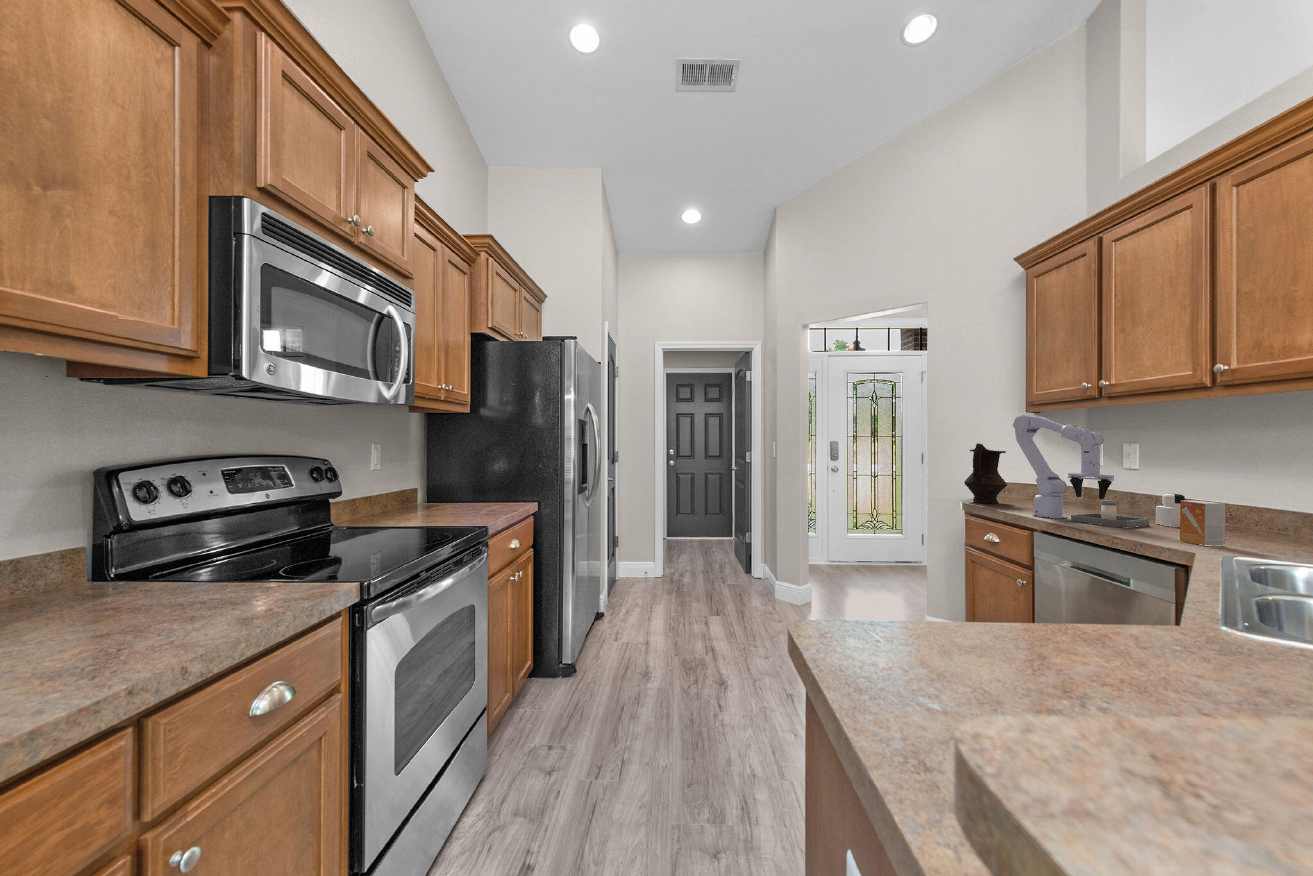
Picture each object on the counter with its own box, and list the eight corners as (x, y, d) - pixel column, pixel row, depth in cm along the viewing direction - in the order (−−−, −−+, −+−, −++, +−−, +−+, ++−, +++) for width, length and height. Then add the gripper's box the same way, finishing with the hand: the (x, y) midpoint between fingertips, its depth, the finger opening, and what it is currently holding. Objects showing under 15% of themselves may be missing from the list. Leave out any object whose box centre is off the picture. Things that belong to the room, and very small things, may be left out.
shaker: (1098, 521, 209) (1098, 500, 209) (1105, 520, 211) (1105, 499, 211) (1111, 522, 205) (1112, 501, 205) (1119, 522, 207) (1119, 501, 207)
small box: (1179, 541, 172) (1179, 500, 172) (1199, 541, 172) (1199, 500, 172) (1204, 546, 164) (1205, 503, 164) (1226, 546, 164) (1226, 503, 164)
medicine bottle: (1175, 524, 207) (1175, 493, 207) (1192, 527, 200) (1192, 495, 200) (1155, 524, 208) (1155, 492, 208) (1170, 527, 200) (1171, 494, 200)
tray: (1070, 521, 213) (1070, 515, 213) (1093, 519, 220) (1093, 513, 220) (1126, 528, 197) (1126, 521, 197) (1149, 525, 204) (1149, 519, 204)
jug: (972, 499, 288) (973, 443, 288) (1012, 503, 274) (1013, 443, 274) (955, 502, 274) (956, 443, 275) (996, 506, 260) (997, 443, 260)
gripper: (1063, 462, 216) (1063, 496, 216) (1107, 464, 203) (1106, 500, 203) (1073, 462, 219) (1073, 495, 219) (1117, 463, 206) (1116, 499, 206)
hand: (1090, 498), depth 211 cm, fingers open, 7 cm apart
